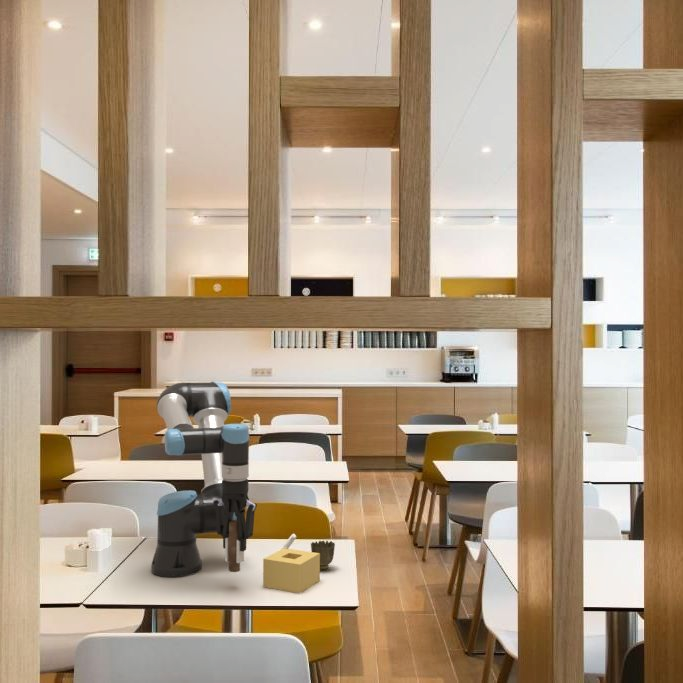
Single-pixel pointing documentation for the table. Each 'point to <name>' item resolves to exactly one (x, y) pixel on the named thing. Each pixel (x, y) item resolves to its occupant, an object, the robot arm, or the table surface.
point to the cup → (324, 552)
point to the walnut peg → (233, 546)
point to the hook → (289, 541)
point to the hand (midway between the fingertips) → (234, 560)
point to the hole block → (291, 570)
